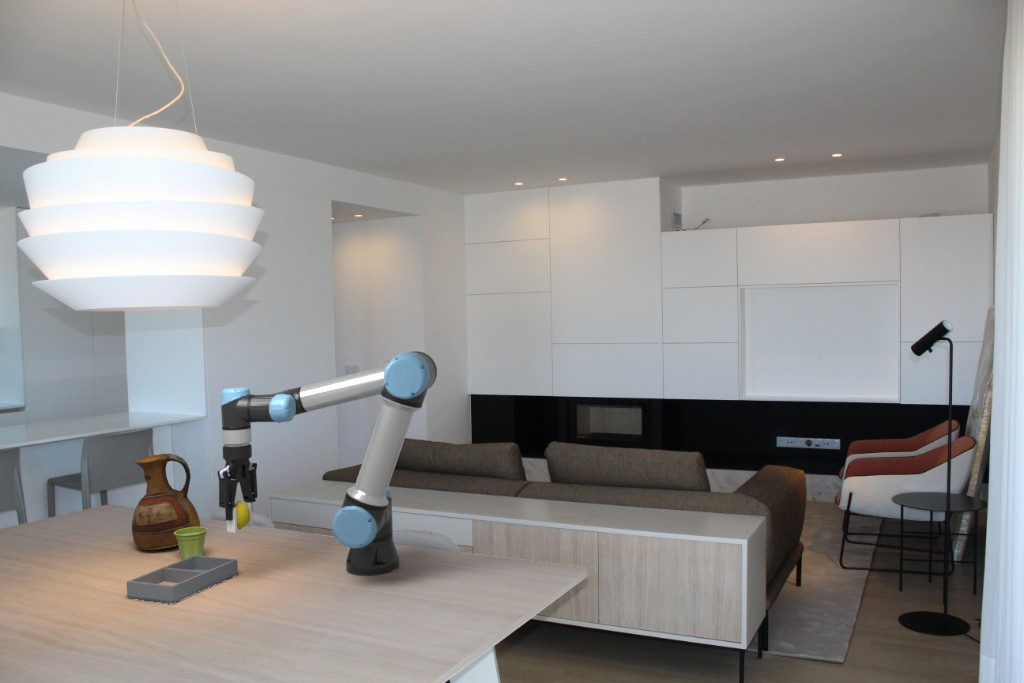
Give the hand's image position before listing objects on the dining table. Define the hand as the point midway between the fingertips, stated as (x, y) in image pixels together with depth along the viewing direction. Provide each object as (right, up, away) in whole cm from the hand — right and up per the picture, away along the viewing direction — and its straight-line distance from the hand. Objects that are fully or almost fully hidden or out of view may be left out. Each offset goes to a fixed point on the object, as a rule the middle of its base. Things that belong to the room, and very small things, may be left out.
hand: (239, 528), depth 223 cm
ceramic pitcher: (-36, -15, +39) cm, 55 cm away
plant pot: (-23, -15, +24) cm, 36 cm away
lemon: (0, -1, 0) cm, 1 cm away
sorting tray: (-14, -15, -2) cm, 21 cm away
